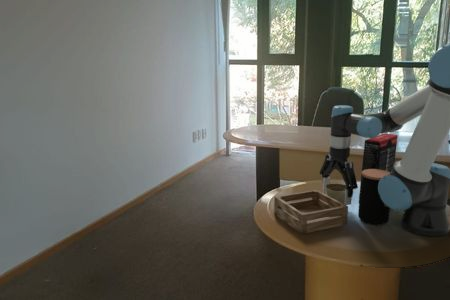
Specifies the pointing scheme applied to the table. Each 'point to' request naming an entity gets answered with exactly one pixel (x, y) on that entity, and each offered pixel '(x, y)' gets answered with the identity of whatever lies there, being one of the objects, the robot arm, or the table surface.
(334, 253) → the table surface
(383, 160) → the graphics card box
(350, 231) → the table surface
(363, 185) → the coffee jar
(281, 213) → the crate
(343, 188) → the flower pot
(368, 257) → the table surface
